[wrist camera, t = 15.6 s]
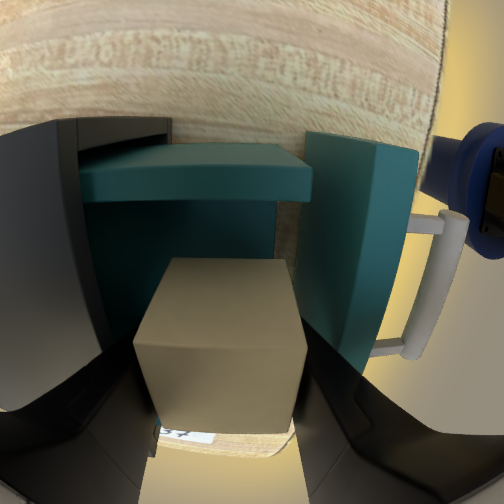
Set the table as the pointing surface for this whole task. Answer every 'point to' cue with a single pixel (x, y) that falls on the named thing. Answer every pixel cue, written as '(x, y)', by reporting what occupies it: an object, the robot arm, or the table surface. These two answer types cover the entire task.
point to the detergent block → (223, 346)
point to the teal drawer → (272, 229)
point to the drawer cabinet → (54, 252)
